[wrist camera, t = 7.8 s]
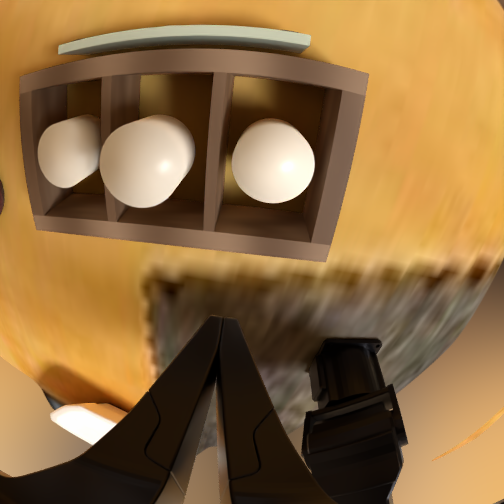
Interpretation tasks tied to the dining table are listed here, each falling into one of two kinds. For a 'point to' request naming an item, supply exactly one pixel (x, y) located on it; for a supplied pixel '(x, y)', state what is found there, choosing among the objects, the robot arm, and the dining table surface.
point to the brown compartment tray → (212, 209)
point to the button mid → (147, 160)
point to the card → (190, 38)
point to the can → (1, 197)
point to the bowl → (88, 419)
